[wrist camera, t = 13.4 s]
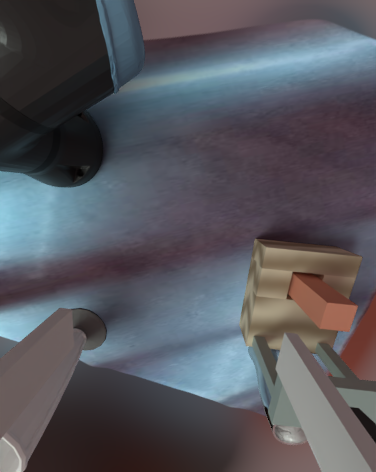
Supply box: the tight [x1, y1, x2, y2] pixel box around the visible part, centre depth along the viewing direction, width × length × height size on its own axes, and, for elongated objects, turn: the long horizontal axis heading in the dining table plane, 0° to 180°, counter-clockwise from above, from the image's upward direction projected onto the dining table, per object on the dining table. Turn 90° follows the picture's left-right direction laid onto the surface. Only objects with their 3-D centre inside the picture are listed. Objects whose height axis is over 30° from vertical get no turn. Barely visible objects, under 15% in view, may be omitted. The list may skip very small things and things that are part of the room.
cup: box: [0, 309, 106, 472], centre depth 33 cm, size 12×12×22 cm
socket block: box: [239, 239, 363, 354], centre depth 36 cm, size 20×16×6 cm
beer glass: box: [248, 346, 308, 445], centre depth 36 cm, size 7×7×15 cm
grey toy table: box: [252, 336, 376, 428], centre depth 29 cm, size 7×16×12 cm, turn 85°
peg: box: [288, 272, 358, 332], centre depth 32 cm, size 4×4×14 cm
